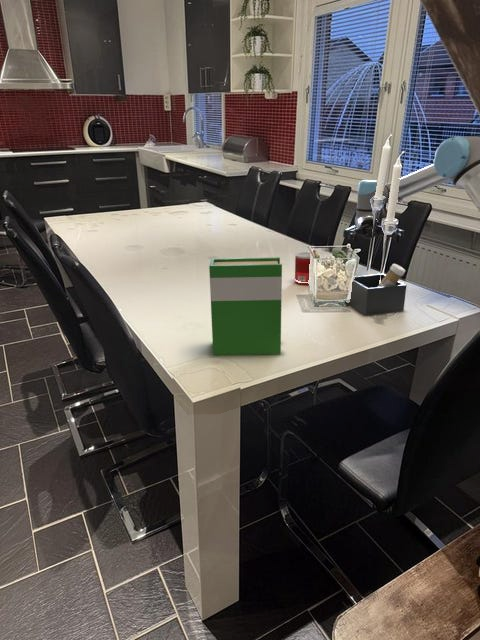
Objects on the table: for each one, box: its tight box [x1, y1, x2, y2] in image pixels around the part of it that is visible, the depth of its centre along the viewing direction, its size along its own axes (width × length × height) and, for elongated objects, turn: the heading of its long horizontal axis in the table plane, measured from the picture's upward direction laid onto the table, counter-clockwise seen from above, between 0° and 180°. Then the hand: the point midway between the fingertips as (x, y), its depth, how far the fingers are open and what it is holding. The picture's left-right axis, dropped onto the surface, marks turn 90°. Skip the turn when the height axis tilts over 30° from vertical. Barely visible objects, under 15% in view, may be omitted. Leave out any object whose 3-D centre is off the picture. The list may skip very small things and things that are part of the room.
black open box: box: [347, 273, 408, 317], centre depth 152 cm, size 14×14×9 cm
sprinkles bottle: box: [378, 263, 406, 287], centre depth 150 cm, size 5×5×14 cm
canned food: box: [294, 251, 311, 286], centre depth 178 cm, size 8×8×11 cm
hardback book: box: [208, 256, 283, 356], centre depth 121 cm, size 18×7×24 cm, turn 90°
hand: (376, 238), depth 154 cm, fingers open, 13 cm apart
